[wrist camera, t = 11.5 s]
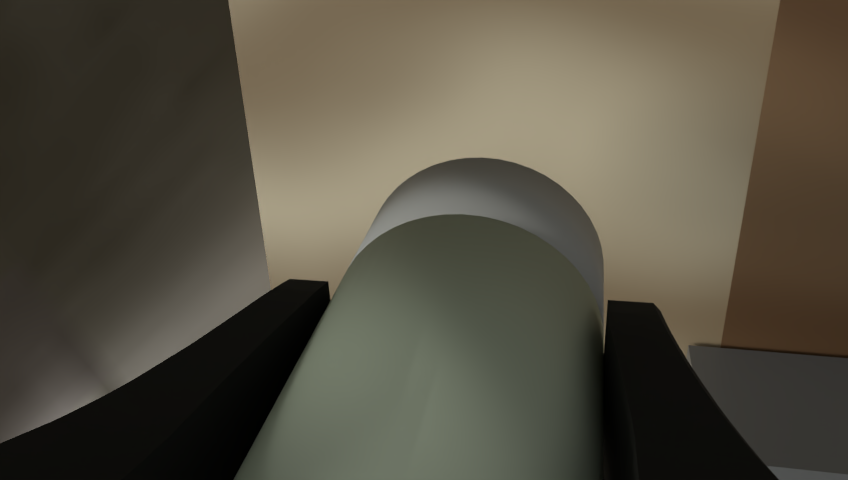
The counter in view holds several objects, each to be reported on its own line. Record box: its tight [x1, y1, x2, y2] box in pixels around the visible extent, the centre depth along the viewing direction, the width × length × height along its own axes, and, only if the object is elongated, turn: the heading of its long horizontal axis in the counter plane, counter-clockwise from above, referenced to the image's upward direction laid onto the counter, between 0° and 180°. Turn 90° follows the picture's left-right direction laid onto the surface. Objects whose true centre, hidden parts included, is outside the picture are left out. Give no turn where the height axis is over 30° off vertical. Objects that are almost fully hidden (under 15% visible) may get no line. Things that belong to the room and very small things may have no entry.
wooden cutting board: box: [228, 0, 848, 358], centre depth 21 cm, size 18×20×2 cm
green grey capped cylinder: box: [234, 157, 604, 480], centre depth 11 cm, size 4×4×7 cm
